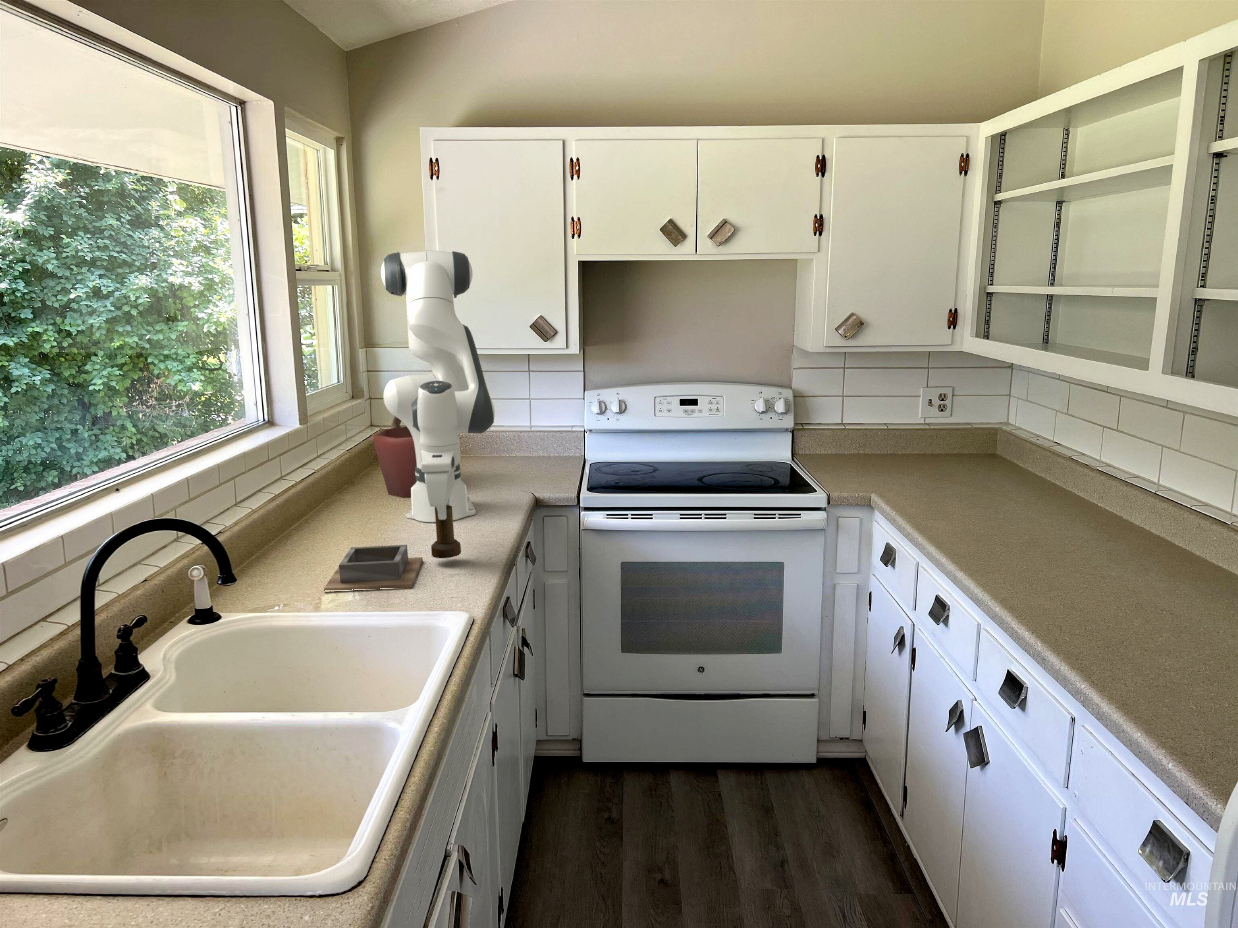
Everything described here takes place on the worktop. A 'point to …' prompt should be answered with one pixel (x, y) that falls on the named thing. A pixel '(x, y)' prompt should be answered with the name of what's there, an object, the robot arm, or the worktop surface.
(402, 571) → the holder board
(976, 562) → the worktop surface
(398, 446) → the bucket
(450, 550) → the wooden pepper mill
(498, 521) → the worktop surface
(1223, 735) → the worktop surface
